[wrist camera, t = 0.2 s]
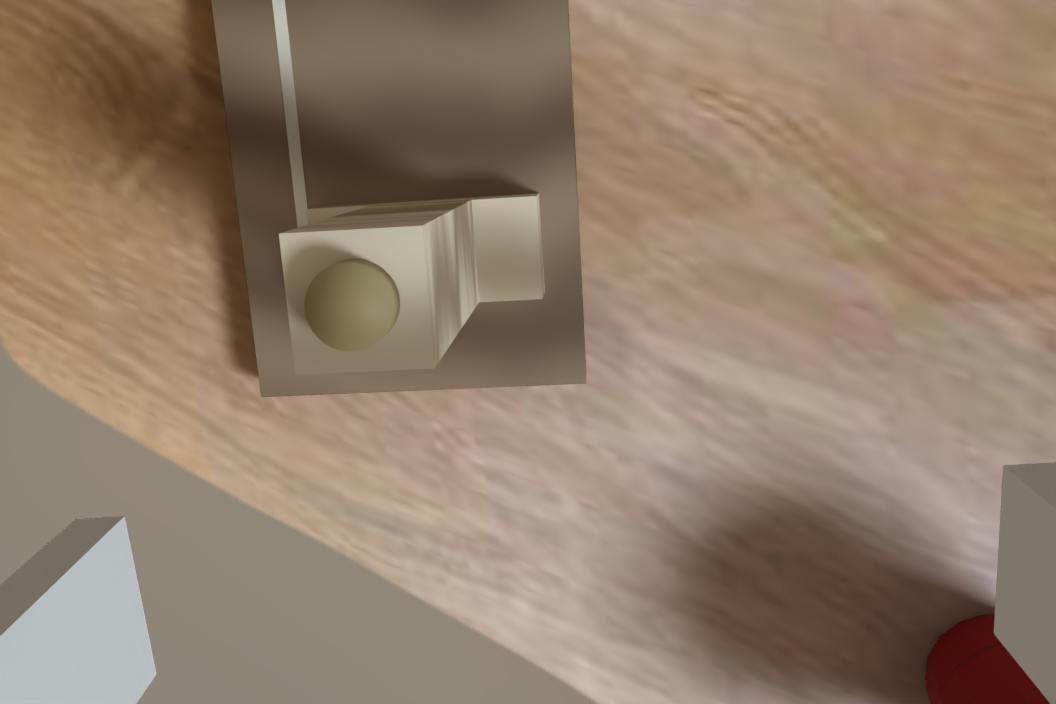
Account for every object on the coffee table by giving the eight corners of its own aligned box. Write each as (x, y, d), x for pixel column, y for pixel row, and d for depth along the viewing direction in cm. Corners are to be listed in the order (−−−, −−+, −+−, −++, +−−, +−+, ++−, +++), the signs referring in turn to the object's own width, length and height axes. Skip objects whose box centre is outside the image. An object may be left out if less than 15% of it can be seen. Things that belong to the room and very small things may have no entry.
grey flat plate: (211, -145, 38) (190, -160, 36) (559, -175, 37) (557, -193, 35) (276, 385, 43) (260, 397, 41) (586, 371, 42) (585, 383, 40)
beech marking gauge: (320, 205, 39) (175, 242, 25) (539, 192, 38) (511, 223, 25) (330, 301, 40) (195, 387, 26) (544, 291, 39) (520, 373, 25)
